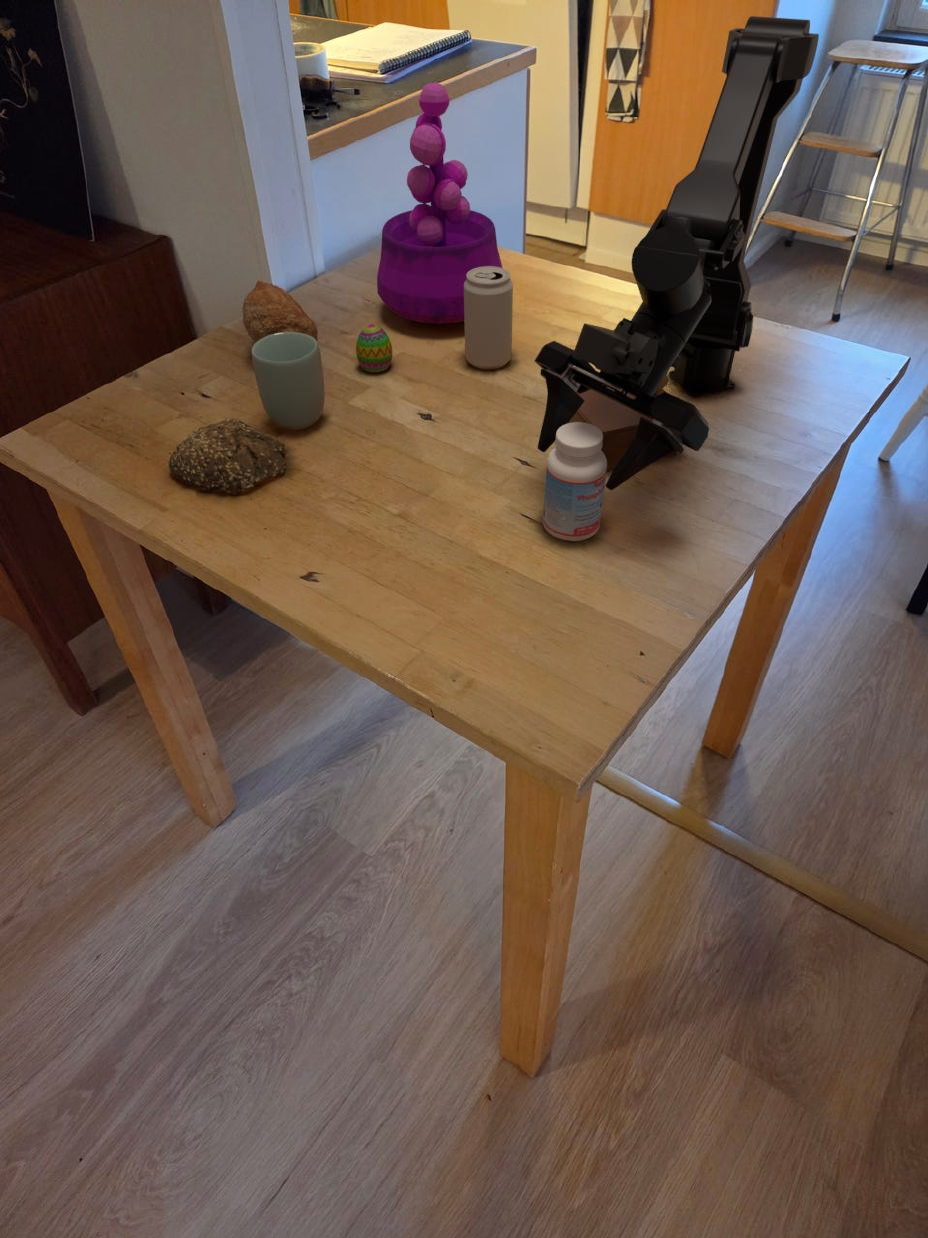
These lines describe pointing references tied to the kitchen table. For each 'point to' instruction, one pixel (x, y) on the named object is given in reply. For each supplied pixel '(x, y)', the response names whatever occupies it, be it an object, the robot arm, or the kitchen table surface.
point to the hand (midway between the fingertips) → (573, 469)
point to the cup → (289, 379)
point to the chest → (614, 444)
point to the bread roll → (227, 457)
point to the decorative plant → (433, 229)
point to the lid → (611, 412)
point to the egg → (374, 349)
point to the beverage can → (488, 317)
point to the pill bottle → (575, 482)
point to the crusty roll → (274, 313)
